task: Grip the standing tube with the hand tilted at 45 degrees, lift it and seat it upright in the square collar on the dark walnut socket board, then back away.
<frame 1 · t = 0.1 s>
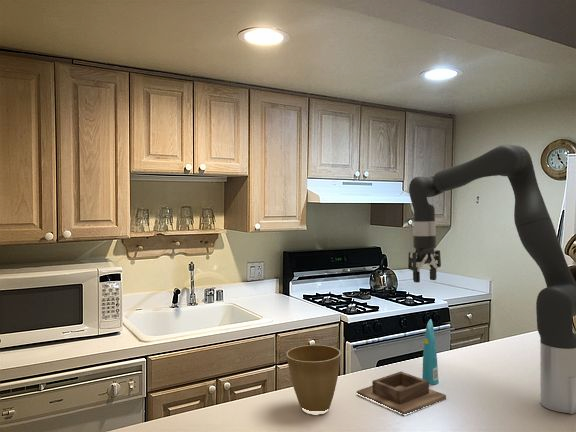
hand: (425, 281, 167), 29 cm above the counter, tool pointing down, fingers open, 8 cm apart
plant pot: (314, 410, 132), on the counter
socket board: (400, 397, 140), on the counter
tube: (429, 382, 151), on the counter
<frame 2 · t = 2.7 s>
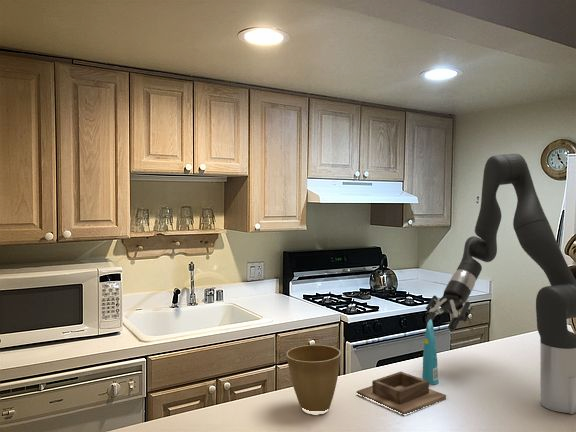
hand: (438, 326, 153), 17 cm above the counter, tool tilted 45°, fingers open, 8 cm apart
nothing on the counter moved.
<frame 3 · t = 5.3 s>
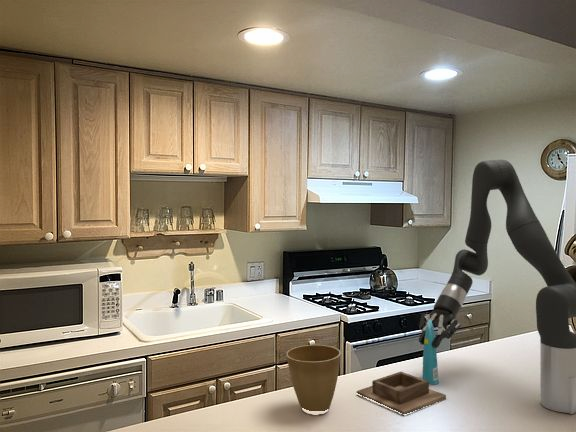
hand: (427, 344, 150), 12 cm above the counter, tool tilted 45°, fingers closed on tube, 4 cm apart
tube: (429, 382, 151), on the counter, touching gripper
everything else where it was.
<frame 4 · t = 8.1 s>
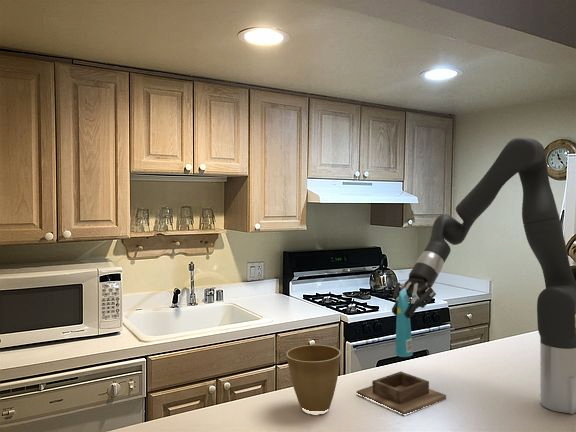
hand: (400, 314, 140), 24 cm above the counter, tool tilted 45°, fingers closed on tube, 4 cm apart
tube: (403, 355, 141), point 12 cm above the counter, touching gripper
everything else where it was.
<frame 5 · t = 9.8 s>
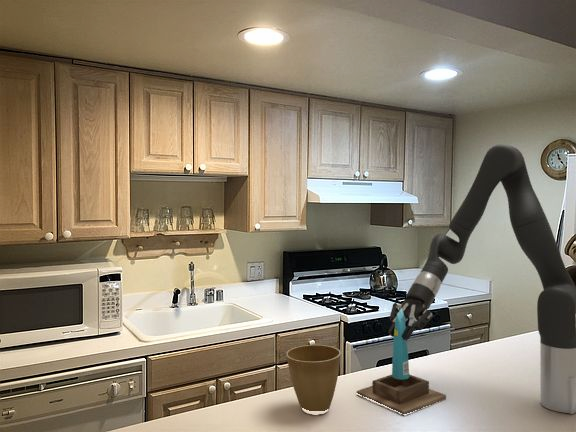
hand: (397, 336, 139), 18 cm above the counter, tool tilted 45°, fingers closed on tube, 4 cm apart
tube: (400, 377, 140), point 6 cm above the counter, touching gripper
everything else where it was.
when the fingers open (14 cm above the counter, at t = 11.4 s): tube drops 1 cm, resting on socket board.
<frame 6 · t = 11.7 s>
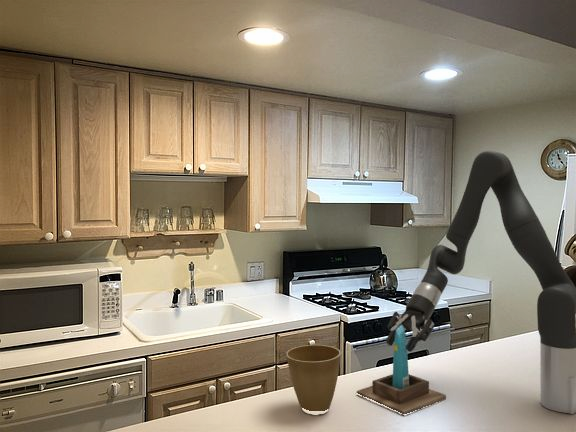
hand: (398, 346, 139), 15 cm above the counter, tool tilted 45°, fingers open, 6 cm apart
tube: (400, 393, 140), point 1 cm above the counter, touching socket board
everything else where it was.
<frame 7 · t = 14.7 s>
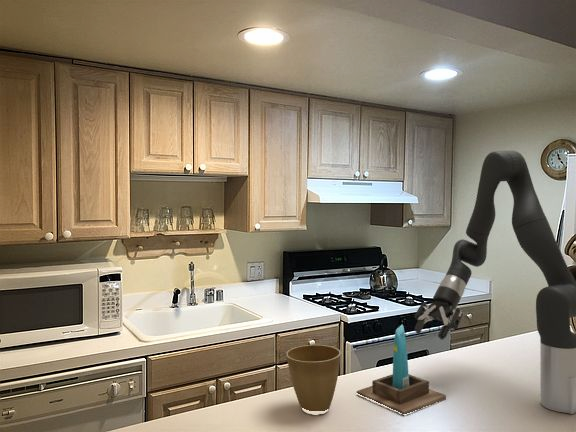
hand: (428, 335, 147), 16 cm above the counter, tool tilted 45°, fingers open, 8 cm apart
nothing on the counter moved.
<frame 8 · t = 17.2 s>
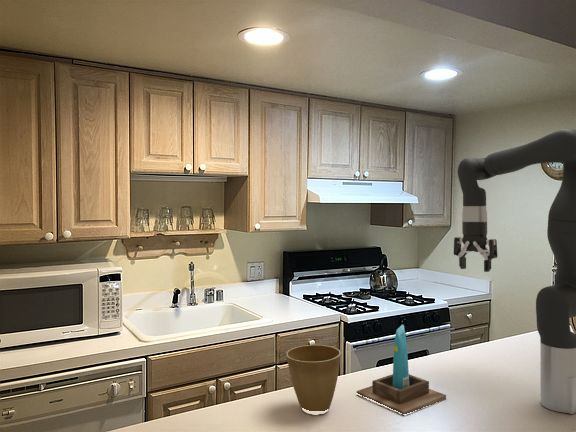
hand: (474, 270, 156), 34 cm above the counter, tool pointing down, fingers open, 8 cm apart
nothing on the counter moved.
at the end: tube 0.4 cm off-centre on the socket board, point 1.0 cm above the socket board's base; tube tilted 0°; the gripper is holding nothing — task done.
